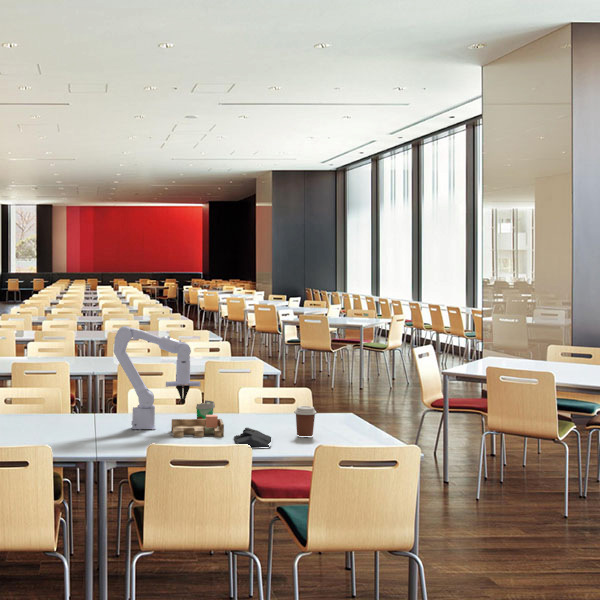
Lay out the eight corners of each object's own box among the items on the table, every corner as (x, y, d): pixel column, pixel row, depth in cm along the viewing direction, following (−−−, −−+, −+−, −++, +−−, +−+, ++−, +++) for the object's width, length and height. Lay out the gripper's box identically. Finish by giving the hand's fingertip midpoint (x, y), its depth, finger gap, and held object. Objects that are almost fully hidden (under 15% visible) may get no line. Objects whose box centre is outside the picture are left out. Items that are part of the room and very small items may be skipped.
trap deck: (172, 437, 333) (172, 424, 333) (171, 431, 346) (171, 419, 346) (223, 436, 336) (223, 424, 336) (221, 430, 349) (221, 418, 349)
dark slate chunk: (231, 449, 314) (231, 436, 314) (233, 438, 336) (234, 426, 336) (272, 450, 315) (272, 437, 315) (272, 439, 337) (272, 427, 337)
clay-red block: (206, 427, 342) (206, 416, 342) (205, 425, 347) (205, 414, 346) (217, 427, 343) (217, 416, 343) (216, 425, 347) (216, 414, 347)
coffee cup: (290, 435, 343) (290, 406, 343) (310, 433, 347) (311, 405, 347) (298, 439, 335) (299, 409, 335) (319, 438, 339) (320, 408, 338)
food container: (209, 428, 354) (210, 404, 354) (195, 427, 356) (196, 404, 355) (218, 423, 367) (218, 400, 366) (204, 422, 368) (205, 400, 368)
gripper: (165, 372, 348) (165, 405, 348) (201, 372, 350) (200, 404, 350) (165, 370, 355) (165, 402, 355) (200, 370, 357) (199, 402, 357)
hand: (182, 403), depth 353 cm, fingers closed
